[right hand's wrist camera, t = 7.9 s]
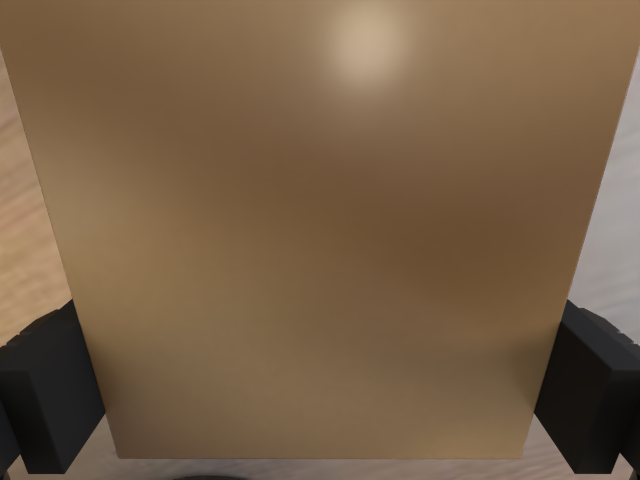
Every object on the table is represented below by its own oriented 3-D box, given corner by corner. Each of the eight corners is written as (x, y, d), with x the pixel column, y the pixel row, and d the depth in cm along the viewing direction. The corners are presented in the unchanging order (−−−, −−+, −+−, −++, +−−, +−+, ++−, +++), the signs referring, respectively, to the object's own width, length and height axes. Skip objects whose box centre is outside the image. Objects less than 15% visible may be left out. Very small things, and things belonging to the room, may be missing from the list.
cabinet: (177, -146, 14) (-268, -876, 3) (463, -145, 14) (911, -871, 3) (222, 267, 20) (117, 459, 10) (417, 268, 20) (521, 460, 10)
